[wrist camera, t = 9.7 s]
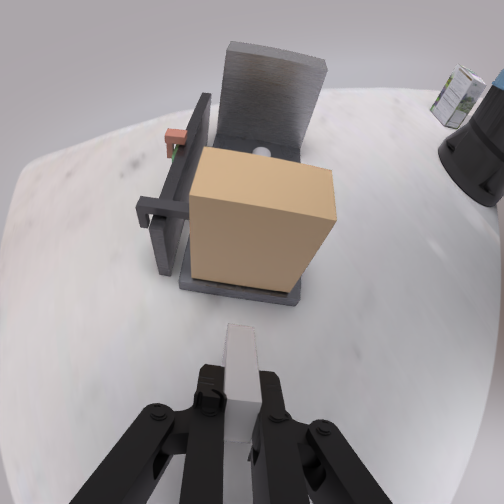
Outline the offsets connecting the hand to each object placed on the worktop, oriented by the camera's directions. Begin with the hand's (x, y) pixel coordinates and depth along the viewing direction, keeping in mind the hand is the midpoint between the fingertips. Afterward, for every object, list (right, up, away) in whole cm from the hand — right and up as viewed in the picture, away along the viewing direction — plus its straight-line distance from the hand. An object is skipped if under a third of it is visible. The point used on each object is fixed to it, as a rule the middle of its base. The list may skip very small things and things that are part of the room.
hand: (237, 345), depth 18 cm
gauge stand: (0, +11, +14) cm, 18 cm away
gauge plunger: (-2, +7, +9) cm, 12 cm away
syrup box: (+44, +35, +36) cm, 67 cm away
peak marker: (-6, +14, +8) cm, 17 cm away
